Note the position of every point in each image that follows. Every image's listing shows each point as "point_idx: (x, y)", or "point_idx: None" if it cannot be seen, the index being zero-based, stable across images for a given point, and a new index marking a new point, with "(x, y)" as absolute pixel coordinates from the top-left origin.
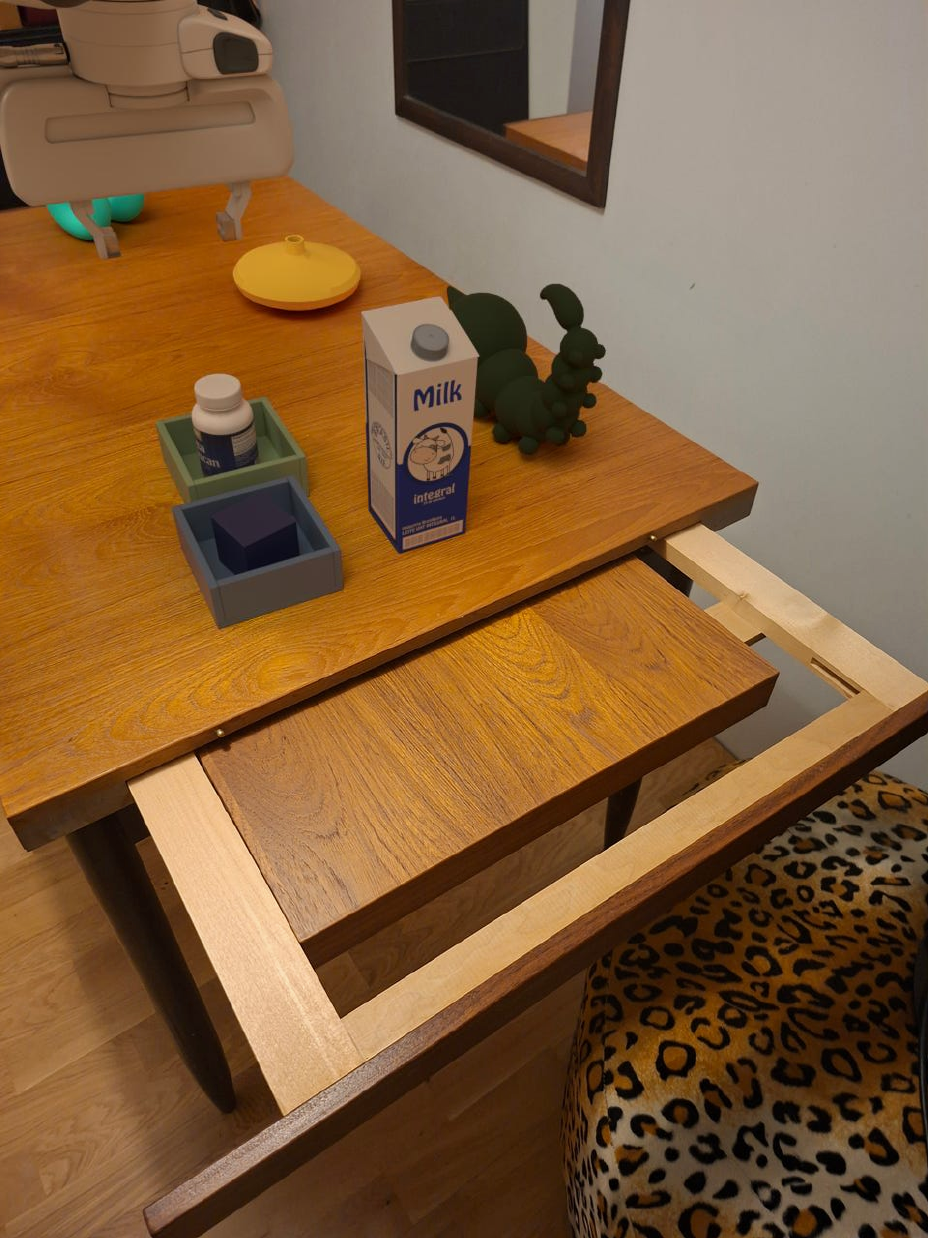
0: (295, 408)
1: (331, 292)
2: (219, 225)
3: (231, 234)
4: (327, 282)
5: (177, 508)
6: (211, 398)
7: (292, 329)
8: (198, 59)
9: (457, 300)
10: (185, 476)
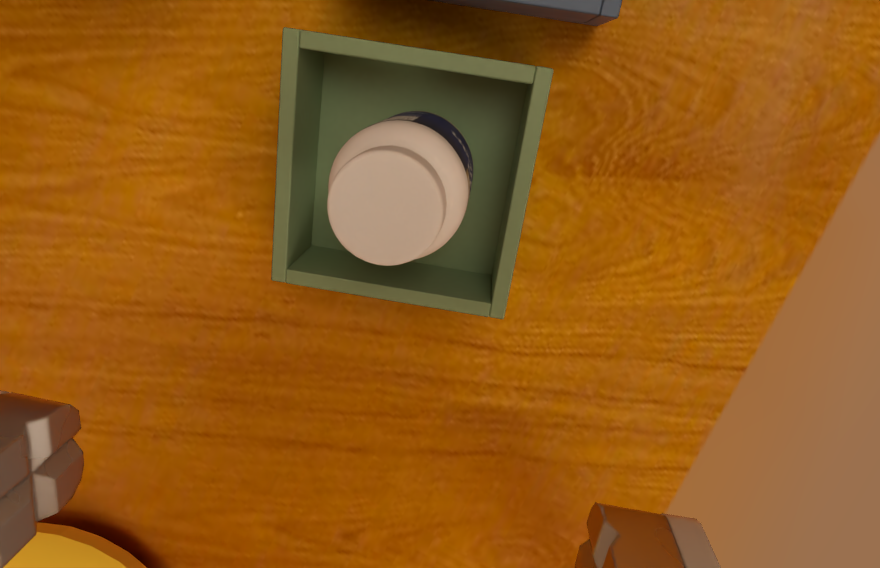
0: (227, 301)
1: None
2: (40, 506)
3: (8, 407)
4: (15, 564)
5: (609, 3)
6: (421, 166)
7: (139, 509)
8: None
9: None
10: (540, 105)
